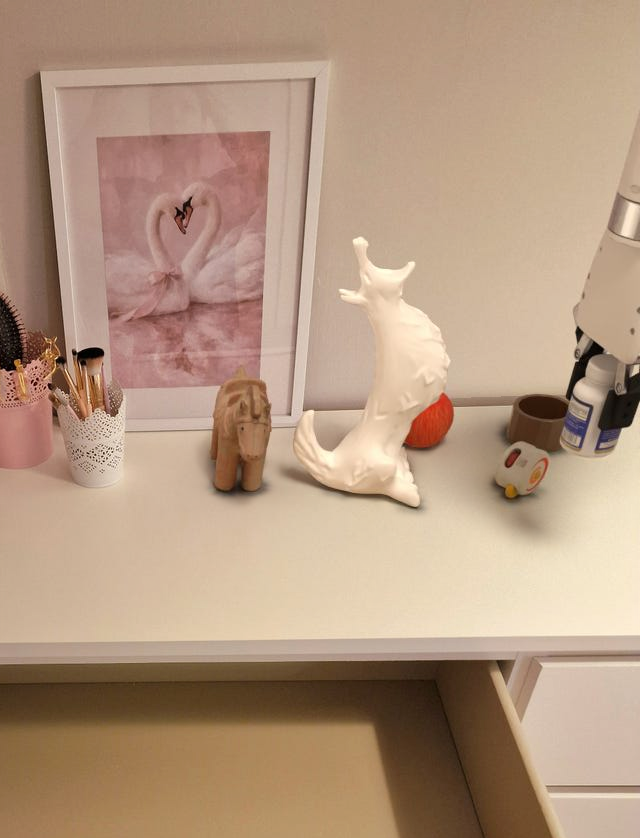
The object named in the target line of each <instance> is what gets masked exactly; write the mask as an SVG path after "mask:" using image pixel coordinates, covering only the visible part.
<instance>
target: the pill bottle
mask: <svg viewBox="0 0 640 838" xmlns="http://www.w3.org/2000/svg"><path fill="white" fill-rule="evenodd" d="M617 363H618V359H617V358H616V357H614V356H613V355H612V354H611V353H607V354H601V355H596V356H593V357H592V358H591V359H590V360H589V363H588V366H587V368H586V374H585V375H586V377H584V378H582V379H580V380H579V381H578V382H577V383H576V385H575V387H574V390H573V393H572V397H571V400H570V401H569V402H570V404H569V407H568V411H567V414H566V418H565V422H564V425H563V429H562V433H561V437H560V444H561V446H562V449H564V450H565V451H566V452H568V453H569V454H572V455H574V456H577V457H580V458H581V457H582V458H586V459H599V458H604V457H607V456H610V455H611V454H612V453H613V452H614V451H615V450H616V447H617V446H618V445H617V444H618V442H619V439H620V436H621V432H622V429H623V428H620V429H613V430H606V431H601V430H600V429H599V428H598V422H599V419H600V416H601V413H602V410H603V406H604V403H605V400H606V397H607V394H608V392H609V390H615V381H616V372H617ZM634 369H635V365H631V367H630V375H629V378H630V377H632V376H633V372H634Z"/></svg>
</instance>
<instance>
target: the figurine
mask: <svg viewBox="0 0 640 838" xmlns="http://www.w3.org/2000/svg"><path fill="white" fill-rule="evenodd" d="M272 404H273V403H271V402H270V401H269V398H268V393H267V384H266V382H265V381H264V380H262V379H260V378H257V377H251V376H249V375H248V374H247V371H246V368H245V367H244V365H242V364H241V365H238V367H237V368H236V371H235V374H234V377H231V378H228V379H227V380H225V381H224V382H223V383H222V384H220V388H219V389H218V392H217V394H216V398H215V404H214V409H213V413H212V418H213V425H212V434H211V441H210V451H209V452H210V454H209V456H210V460H212V461H215V469H214V477H213V478H214V479H213V481H214V482H213V483H214V485H215V488H216V489H218V490H221V491H228V492H229V491H230V490H231V489H233V488H234V486H235V484H236V481H237V476H238V475H237V474H238V466H239V463H240V462H241V469H240V470H241V473H240V481H241V483H240V487H241V488H242V489H243V490H245V491H248V492H255V491H258V490H259V489H261V486H262V481H263V474H264V468H265V461H266V456H267V451H268V446H269V442H270V437H271V433H272V431H273V428H272V423H273V422H272V415H271V410H272Z"/></svg>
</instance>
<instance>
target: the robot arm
mask: <svg viewBox="0 0 640 838" xmlns="http://www.w3.org/2000/svg"><path fill="white" fill-rule="evenodd" d="M638 112H639V113H638V115H637V118H636V122H635V125H634V128H633V133H632V136H631V140H630V143H629V146H628V150H627V154H626V158H625V162H624V165H623V168H622V172H621V176H620V179H619V183H618V186H617V190H616V193H615V197H614V200H613V203H612V207H611V210H610V215H609V219H608V222H607V225H606V228H605V230H604V232H603V234H602V237H601V239H600V242H599V244H598V246H597V249H596V251H595V254H594V256H593V259H592V262H591V264H590V267H589V270H588V273H587V276H586V279H585V282H584V285H583V289H582V293H581V295H580V300H579V302H578V303H577V304H576V305H574V306H573V309H572V315H573V319H574V325H575V331H574V334H575V339H576V344H577V345H576V347H575V348H574V350H573V357H574V360H575V362H574V365H573V368H572V372H571V375H570V379H569V382H568V385H567V389H566V393H565V399H566V400H567V401H569V402H570V400H571V397H572V393H573V390H574V387H575V385H576V383H577V382H578V381H579V380H580V379H582V378H584V377H586V375H585V374H586V368H587V366H588V363H589V360H590V359H591V358H592V357H593V356H596V355H601V354H612V355H613V356H614V357H616V358H617V359H618V363H617V372H616V381H615V390H609V392H608V394H607V397H606V400H605V403H604V406H603V410H602V413H601V416H600V419H599V422H598V428H599V429H600V430H601V431H606V430H613V429H620V428H622V429H627V428H630V427H631V426H632V425H633V422H634V420H635V417H636V414H637V410H638V408H639V405H640V110H639V111H638ZM631 365H634V366H638V372H637V373H635V374H632V376H631V377H630V378H629V375H630V367H631Z"/></svg>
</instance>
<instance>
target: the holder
mask: <svg viewBox="0 0 640 838" xmlns="http://www.w3.org/2000/svg"><path fill="white" fill-rule="evenodd" d="M569 404H570V401H569V400H568V399H564V398H562V397H560V396H556V395H551V394H547V393H546V394H544V393H532V394H524V395H522V396H519V397H517V398H516V400H514V402H513V404H512V408H511V412H510V415H509V419H508V424H507V427H506V434H505V435H506V438H507V440H508V441H509V442H510V444H511V445H513V444H514V443H516V442H520V441H522V442H526V443H528V444H531V445H533V446H535V447H536V448H537V449H540V450H544V451H546V452H547V453H552V452H556V451H558V450H561V449H563V447H562V446H561V444H560V437H561V433H562V429H563V425H564V422H565V418H566V414H567V411H568V407H569Z"/></svg>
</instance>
